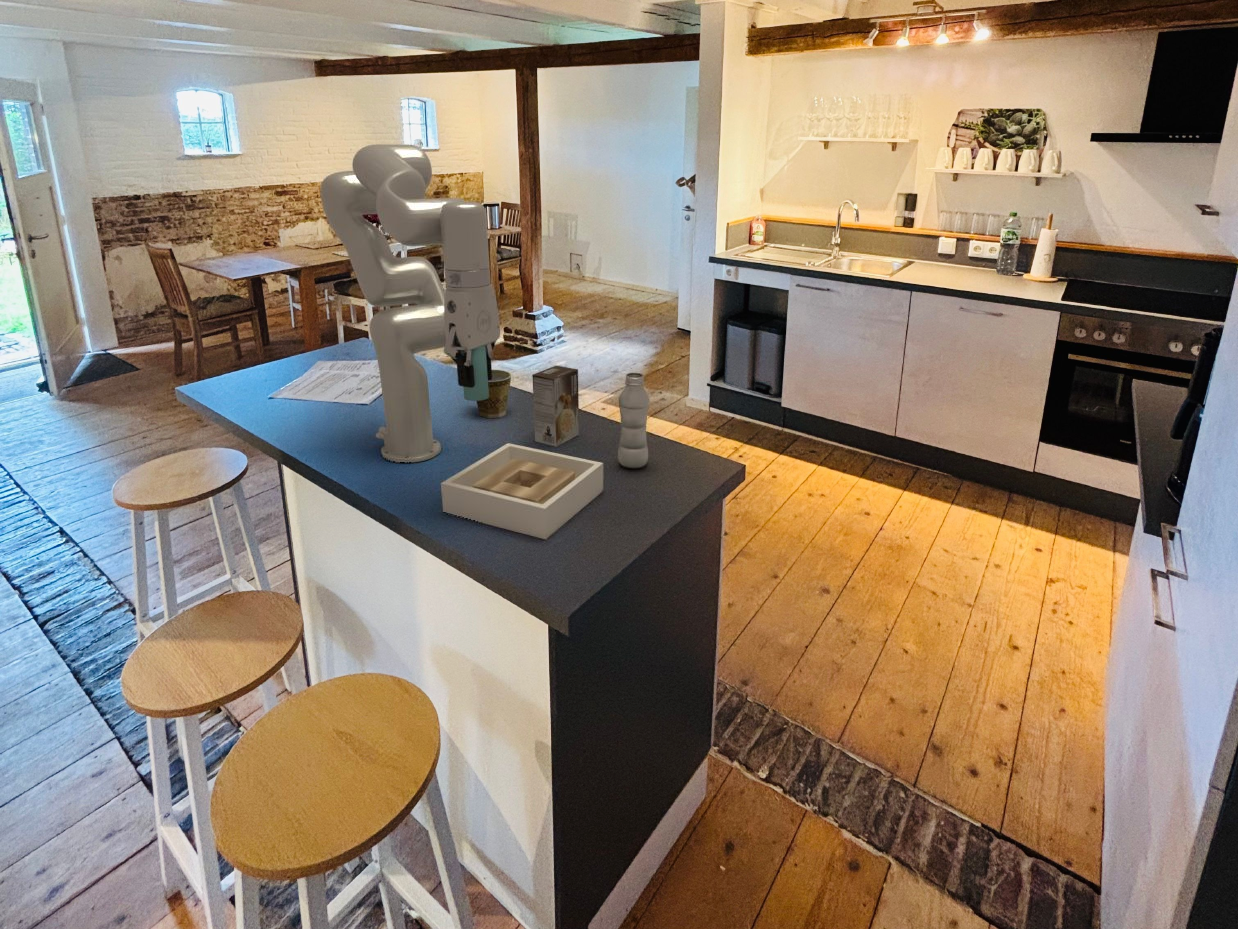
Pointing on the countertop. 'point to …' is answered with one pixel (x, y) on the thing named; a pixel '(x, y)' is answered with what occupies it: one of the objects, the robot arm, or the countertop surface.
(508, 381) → the ceramic cup
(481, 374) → the peg
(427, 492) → the countertop surface
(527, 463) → the bore plate
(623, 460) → the plastic bottle
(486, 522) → the open box
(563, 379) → the coffee box
